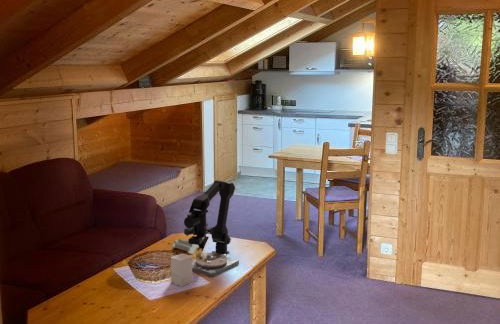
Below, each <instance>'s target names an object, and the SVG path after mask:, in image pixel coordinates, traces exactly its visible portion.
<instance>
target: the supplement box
mask: <svg viewBox="0 0 500 324" xmlns="http://www.w3.org/2000/svg"><path fill="white" fill-rule="evenodd" d="M192 261H193V257H192V256H190V255H187V254H185V253H180V254H177V255H173V256H171V257H170V281H171V283H172V284H174V283H175V285H176V286H179V287H184V286H185V285H189V284H191V283H193V271H192Z"/></svg>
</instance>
